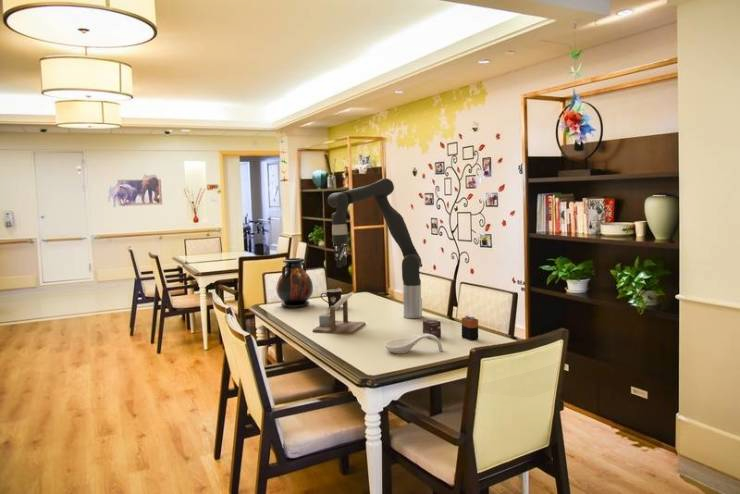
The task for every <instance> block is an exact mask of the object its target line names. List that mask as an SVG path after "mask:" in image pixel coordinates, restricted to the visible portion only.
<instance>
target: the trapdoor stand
mask: <svg viewBox="0 0 740 494" xmlns="http://www.w3.org/2000/svg"><path fill="white" fill-rule="evenodd" d="M348 300H349V298H348V299H347V300H346V301H345V302H344V303H343V304H342V320H336V311H335V306H330V308H329V310H330V326H320V324H318V325H317V326H316V327H314V328H313V329H312V333H326V334H337V335H341V334H342V335H353V334H355V333H356V332H357V331H359V330H360V329H362V328H363V327H364V326H365V325H366V321H350V320H349V309H348V308H349V307H348V306H349V305H348V304H349V303H348V302H349V301H348Z"/></svg>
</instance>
